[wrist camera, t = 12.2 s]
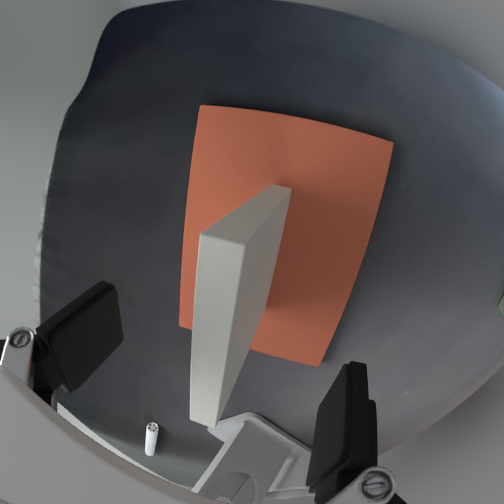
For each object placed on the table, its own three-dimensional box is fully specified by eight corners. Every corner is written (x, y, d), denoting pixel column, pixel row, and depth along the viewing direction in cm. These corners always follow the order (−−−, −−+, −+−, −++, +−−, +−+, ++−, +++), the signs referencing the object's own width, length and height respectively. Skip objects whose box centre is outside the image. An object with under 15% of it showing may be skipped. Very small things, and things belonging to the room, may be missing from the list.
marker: (155, 453, 45) (151, 460, 43) (147, 448, 45) (142, 456, 43) (160, 425, 37) (154, 435, 35) (150, 420, 37) (144, 429, 35)
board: (272, 183, 18) (199, 232, 8) (292, 188, 18) (246, 244, 7) (248, 304, 22) (189, 419, 12) (265, 308, 22) (215, 429, 11)
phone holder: (331, 460, 31) (314, 559, 14) (281, 471, 35) (256, 555, 18) (252, 410, 29) (204, 538, 13) (204, 425, 33) (155, 523, 17)
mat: (204, 106, 18) (199, 104, 18) (391, 142, 16) (394, 142, 15) (182, 321, 26) (179, 326, 25) (319, 361, 24) (318, 367, 23)
